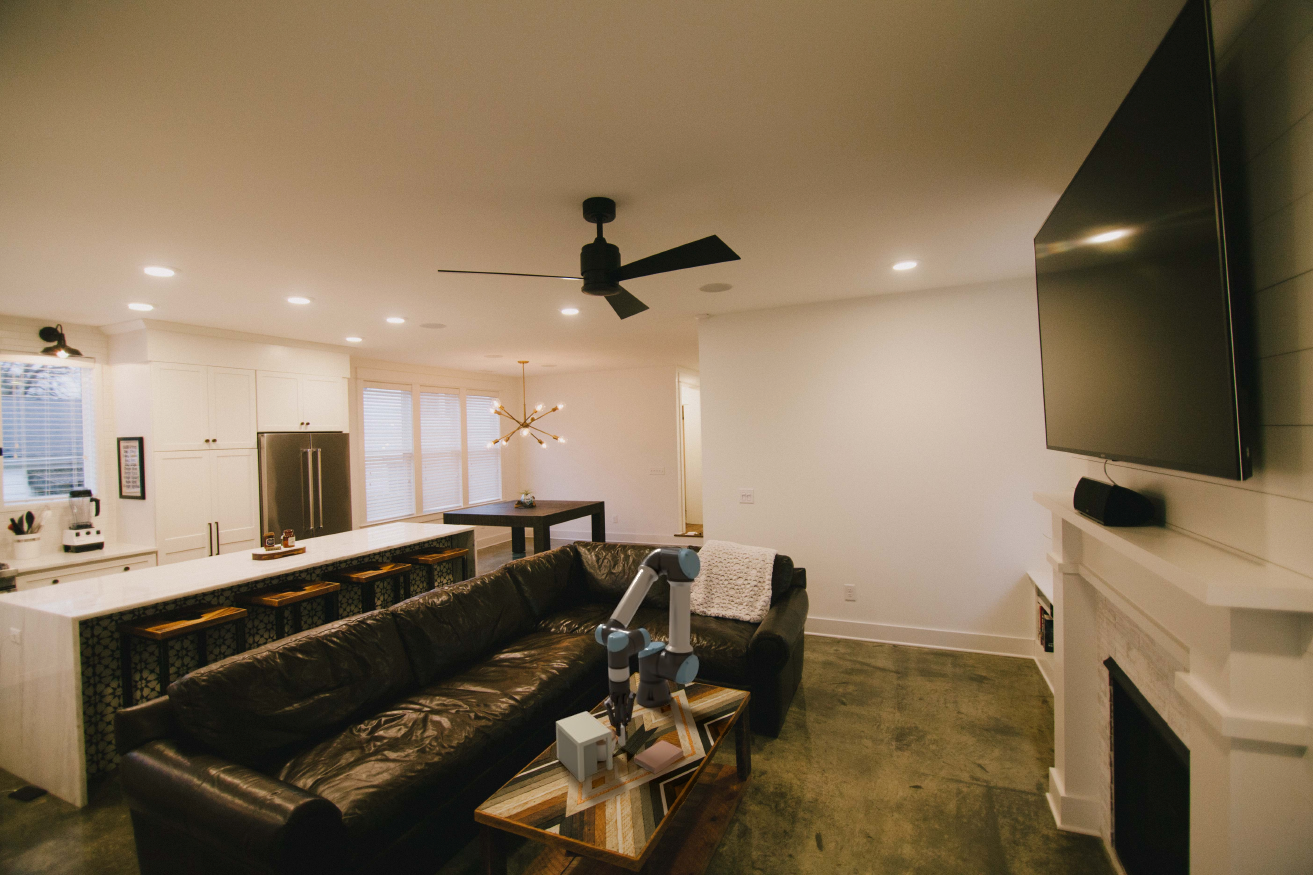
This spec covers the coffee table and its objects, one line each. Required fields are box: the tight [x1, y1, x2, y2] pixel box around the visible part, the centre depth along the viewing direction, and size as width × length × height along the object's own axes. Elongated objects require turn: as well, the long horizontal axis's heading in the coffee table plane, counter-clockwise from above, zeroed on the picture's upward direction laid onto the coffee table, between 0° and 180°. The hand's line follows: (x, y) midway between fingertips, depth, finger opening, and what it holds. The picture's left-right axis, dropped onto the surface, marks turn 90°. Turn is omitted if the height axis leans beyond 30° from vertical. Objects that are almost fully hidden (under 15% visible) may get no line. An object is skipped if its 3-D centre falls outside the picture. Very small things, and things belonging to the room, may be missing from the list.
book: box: [633, 739, 684, 775], centre depth 185 cm, size 14×10×2 cm
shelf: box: [555, 710, 614, 783], centre depth 185 cm, size 12×18×12 cm, turn 35°
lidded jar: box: [596, 726, 617, 762], centre depth 188 cm, size 11×11×9 cm
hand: (621, 743), depth 193 cm, fingers closed
